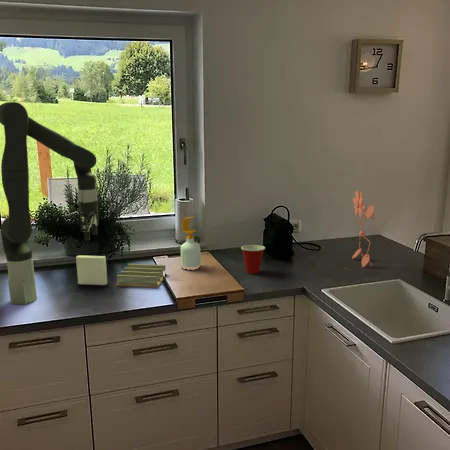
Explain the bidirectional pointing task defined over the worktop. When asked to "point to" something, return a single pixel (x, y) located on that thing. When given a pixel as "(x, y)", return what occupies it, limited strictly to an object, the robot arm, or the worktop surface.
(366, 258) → the figurine
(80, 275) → the pale green flat slab
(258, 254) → the plastic cup
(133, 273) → the dish rack
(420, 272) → the worktop surface
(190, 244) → the soap bottle
